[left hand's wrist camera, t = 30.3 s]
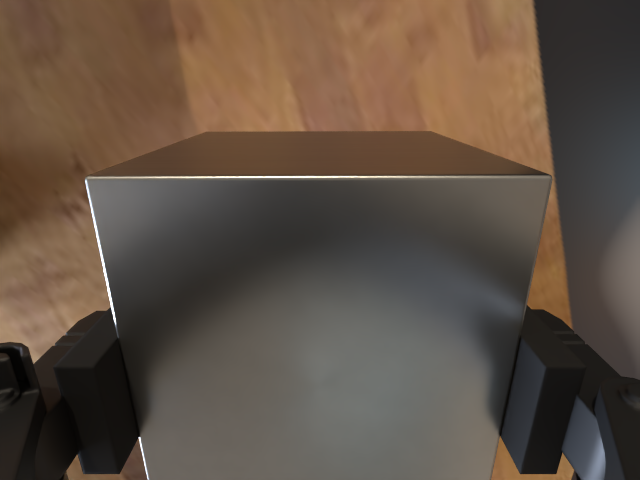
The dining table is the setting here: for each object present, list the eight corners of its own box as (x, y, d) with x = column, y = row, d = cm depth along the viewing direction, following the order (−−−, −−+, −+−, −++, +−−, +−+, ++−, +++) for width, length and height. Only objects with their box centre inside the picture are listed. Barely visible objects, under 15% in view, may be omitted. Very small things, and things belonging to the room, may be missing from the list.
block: (412, 342, 18) (482, 528, 10) (225, 342, 18) (156, 529, 10) (432, 131, 15) (555, 175, 7) (204, 131, 15) (81, 175, 7)
